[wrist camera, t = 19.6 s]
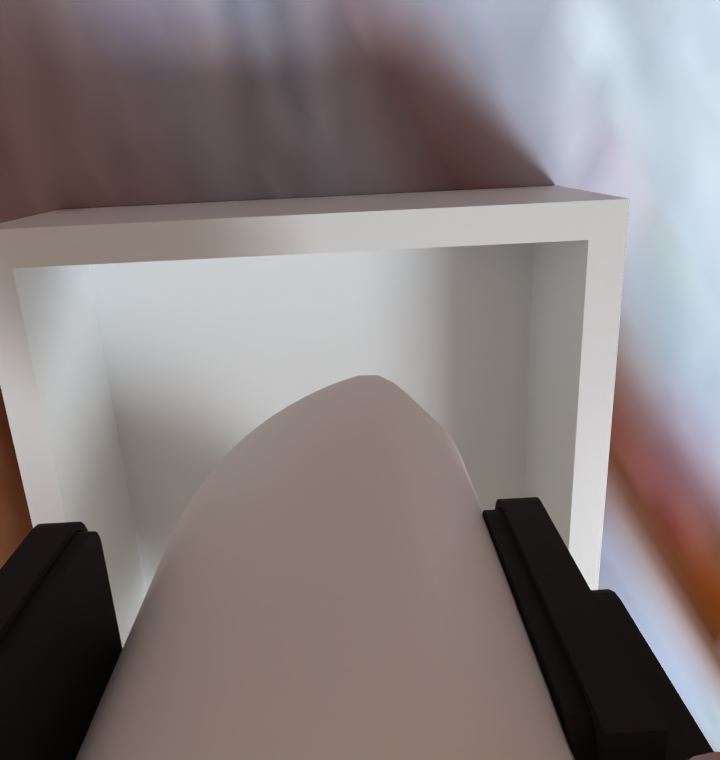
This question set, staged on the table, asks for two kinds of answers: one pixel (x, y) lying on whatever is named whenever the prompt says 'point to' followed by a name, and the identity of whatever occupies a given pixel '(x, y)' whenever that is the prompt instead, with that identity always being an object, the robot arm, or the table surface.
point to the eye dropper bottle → (331, 606)
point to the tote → (307, 346)
